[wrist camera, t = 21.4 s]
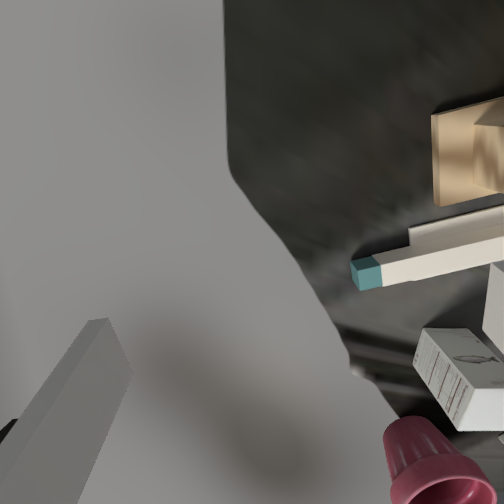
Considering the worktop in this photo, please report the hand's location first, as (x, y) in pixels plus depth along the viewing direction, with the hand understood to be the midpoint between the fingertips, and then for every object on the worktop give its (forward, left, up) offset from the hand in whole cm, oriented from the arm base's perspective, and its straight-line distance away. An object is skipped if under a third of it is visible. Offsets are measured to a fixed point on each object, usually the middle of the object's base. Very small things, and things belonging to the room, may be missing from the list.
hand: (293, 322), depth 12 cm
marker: (+17, +21, -32) cm, 41 cm away
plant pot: (+52, +16, -32) cm, 63 cm away
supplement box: (+34, +22, -32) cm, 52 cm away
